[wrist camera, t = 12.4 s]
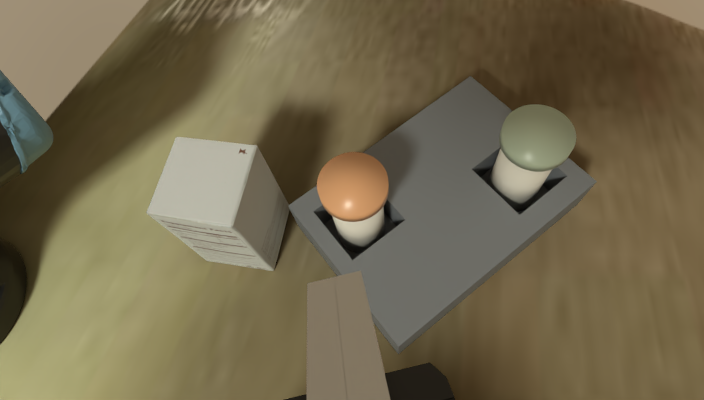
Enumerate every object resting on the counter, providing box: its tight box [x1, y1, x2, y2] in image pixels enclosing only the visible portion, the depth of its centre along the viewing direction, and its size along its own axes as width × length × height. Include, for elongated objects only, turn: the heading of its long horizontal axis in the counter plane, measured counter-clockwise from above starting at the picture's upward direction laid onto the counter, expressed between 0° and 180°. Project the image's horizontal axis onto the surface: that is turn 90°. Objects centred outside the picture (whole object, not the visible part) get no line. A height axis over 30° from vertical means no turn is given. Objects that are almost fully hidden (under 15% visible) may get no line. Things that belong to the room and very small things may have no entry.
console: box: [288, 76, 597, 354], centre depth 44 cm, size 16×23×5 cm
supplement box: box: [147, 137, 290, 271], centre depth 41 cm, size 7×7×13 cm
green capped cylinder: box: [487, 104, 576, 211], centre depth 41 cm, size 6×6×10 cm
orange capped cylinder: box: [317, 152, 389, 253], centre depth 40 cm, size 6×6×10 cm
